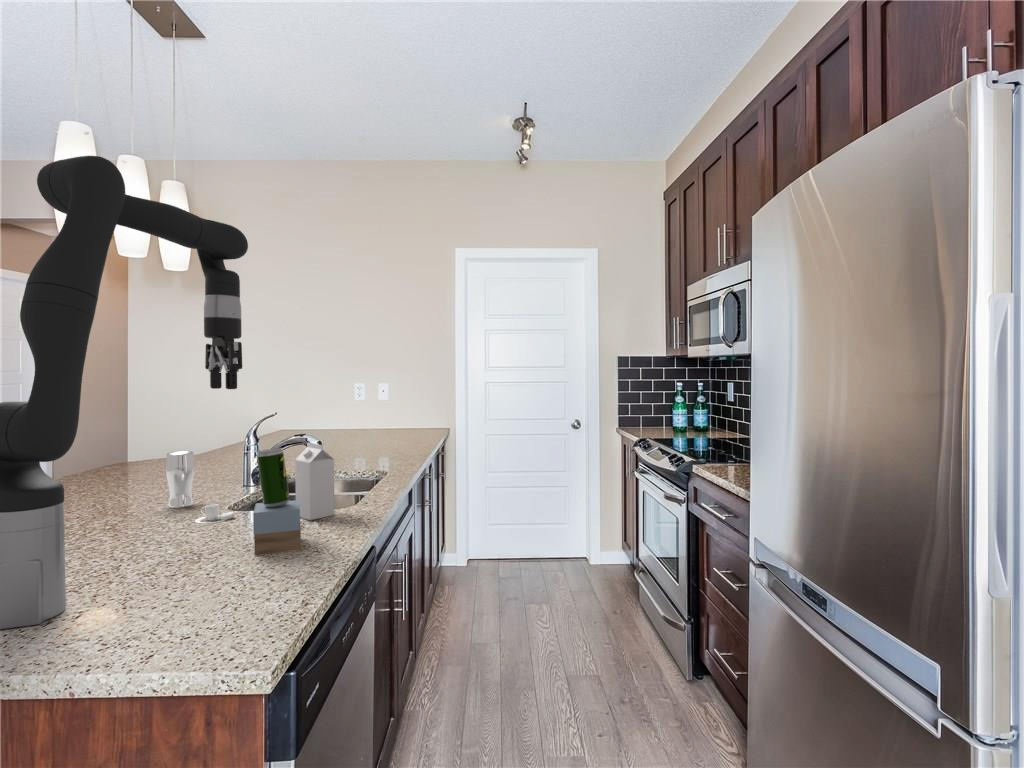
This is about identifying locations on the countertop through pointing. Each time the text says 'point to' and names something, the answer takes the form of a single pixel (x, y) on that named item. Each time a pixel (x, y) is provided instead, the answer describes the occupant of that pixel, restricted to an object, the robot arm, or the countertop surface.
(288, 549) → the walnut block
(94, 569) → the countertop surface
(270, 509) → the slate-blue block
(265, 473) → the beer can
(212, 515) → the teacup and saucer
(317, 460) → the milk carton
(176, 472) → the beer glass
